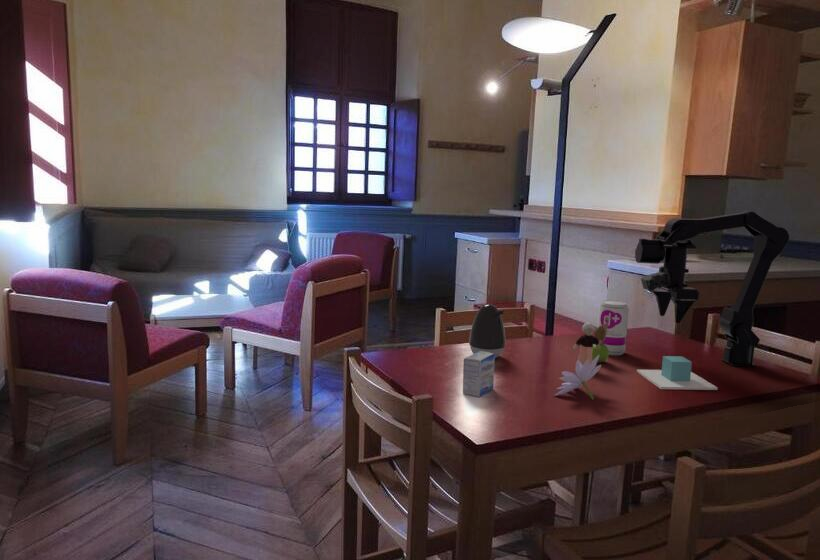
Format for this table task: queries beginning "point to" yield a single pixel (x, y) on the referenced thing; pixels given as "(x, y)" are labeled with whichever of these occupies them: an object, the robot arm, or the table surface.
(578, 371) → the water lily
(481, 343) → the penguin figurine
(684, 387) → the tile
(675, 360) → the cube
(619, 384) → the table surface
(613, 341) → the supplement can
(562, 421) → the table surface
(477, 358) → the medicine box
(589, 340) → the grandmother figurine
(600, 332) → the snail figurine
